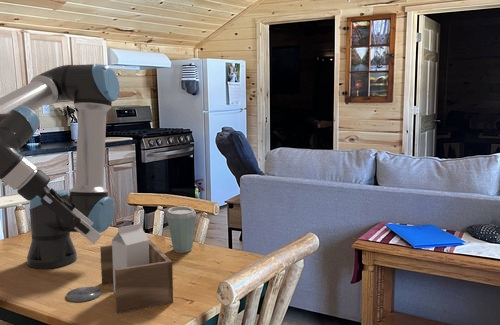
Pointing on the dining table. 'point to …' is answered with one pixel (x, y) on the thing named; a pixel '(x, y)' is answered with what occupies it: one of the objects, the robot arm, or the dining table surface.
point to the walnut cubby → (139, 280)
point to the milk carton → (129, 248)
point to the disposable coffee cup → (181, 227)
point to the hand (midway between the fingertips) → (93, 233)
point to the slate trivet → (83, 294)
